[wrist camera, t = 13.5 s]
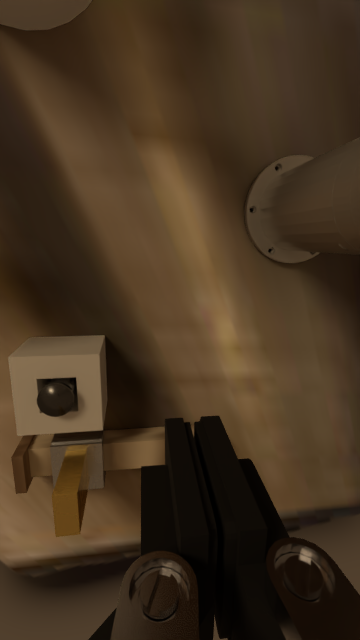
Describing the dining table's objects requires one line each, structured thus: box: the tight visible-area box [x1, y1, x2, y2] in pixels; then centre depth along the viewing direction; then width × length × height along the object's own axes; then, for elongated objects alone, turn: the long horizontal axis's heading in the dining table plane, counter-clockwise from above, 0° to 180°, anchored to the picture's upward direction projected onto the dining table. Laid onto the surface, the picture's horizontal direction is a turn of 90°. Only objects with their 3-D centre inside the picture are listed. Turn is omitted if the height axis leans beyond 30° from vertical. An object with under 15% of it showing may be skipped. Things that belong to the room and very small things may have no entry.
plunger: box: [37, 377, 77, 417], centre depth 36 cm, size 4×4×7 cm
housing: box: [8, 335, 108, 436], centre depth 37 cm, size 9×9×7 cm
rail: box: [12, 421, 200, 494], centre depth 42 cm, size 24×5×5 cm, turn 89°
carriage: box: [50, 426, 106, 537], centre depth 37 cm, size 6×7×11 cm
